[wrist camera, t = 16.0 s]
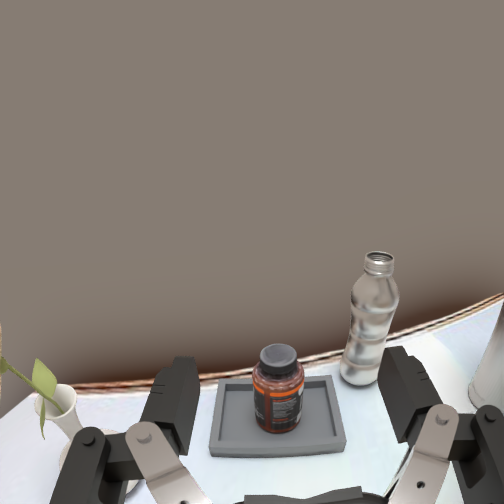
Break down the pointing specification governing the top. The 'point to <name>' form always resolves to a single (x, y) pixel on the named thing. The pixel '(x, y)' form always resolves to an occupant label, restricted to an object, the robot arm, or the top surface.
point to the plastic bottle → (370, 319)
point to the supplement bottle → (278, 388)
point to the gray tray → (269, 443)
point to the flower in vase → (54, 403)
